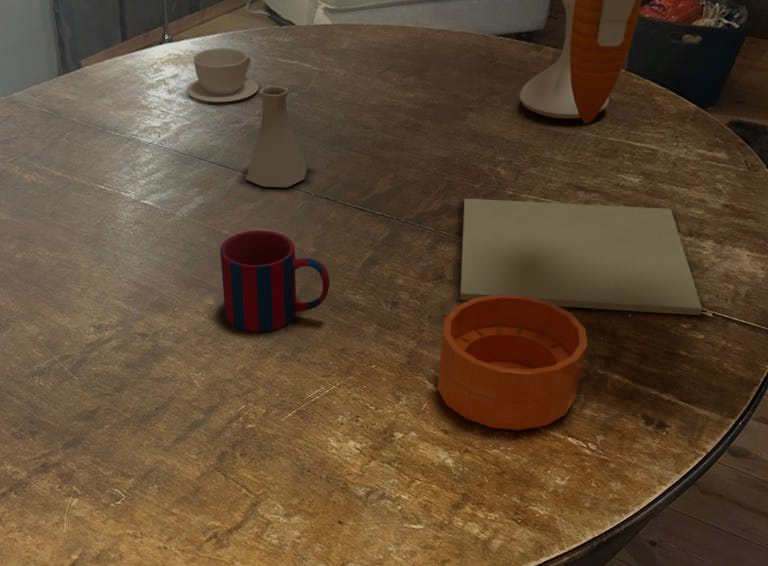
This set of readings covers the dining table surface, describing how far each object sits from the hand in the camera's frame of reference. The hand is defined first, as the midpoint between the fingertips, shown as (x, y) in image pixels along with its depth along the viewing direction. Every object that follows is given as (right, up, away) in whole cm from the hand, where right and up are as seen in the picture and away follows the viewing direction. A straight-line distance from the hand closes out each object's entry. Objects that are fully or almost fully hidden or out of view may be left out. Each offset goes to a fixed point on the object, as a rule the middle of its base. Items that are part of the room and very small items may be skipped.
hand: (603, 29), depth 71 cm
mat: (+5, -12, +24) cm, 27 cm away
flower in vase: (+12, +14, +51) cm, 54 cm away
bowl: (-6, -27, +7) cm, 29 cm away
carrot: (0, -5, +5) cm, 7 cm away
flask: (-26, +1, +39) cm, 47 cm away
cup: (-25, -19, +16) cm, 36 cm away
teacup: (-33, +20, +59) cm, 71 cm away
